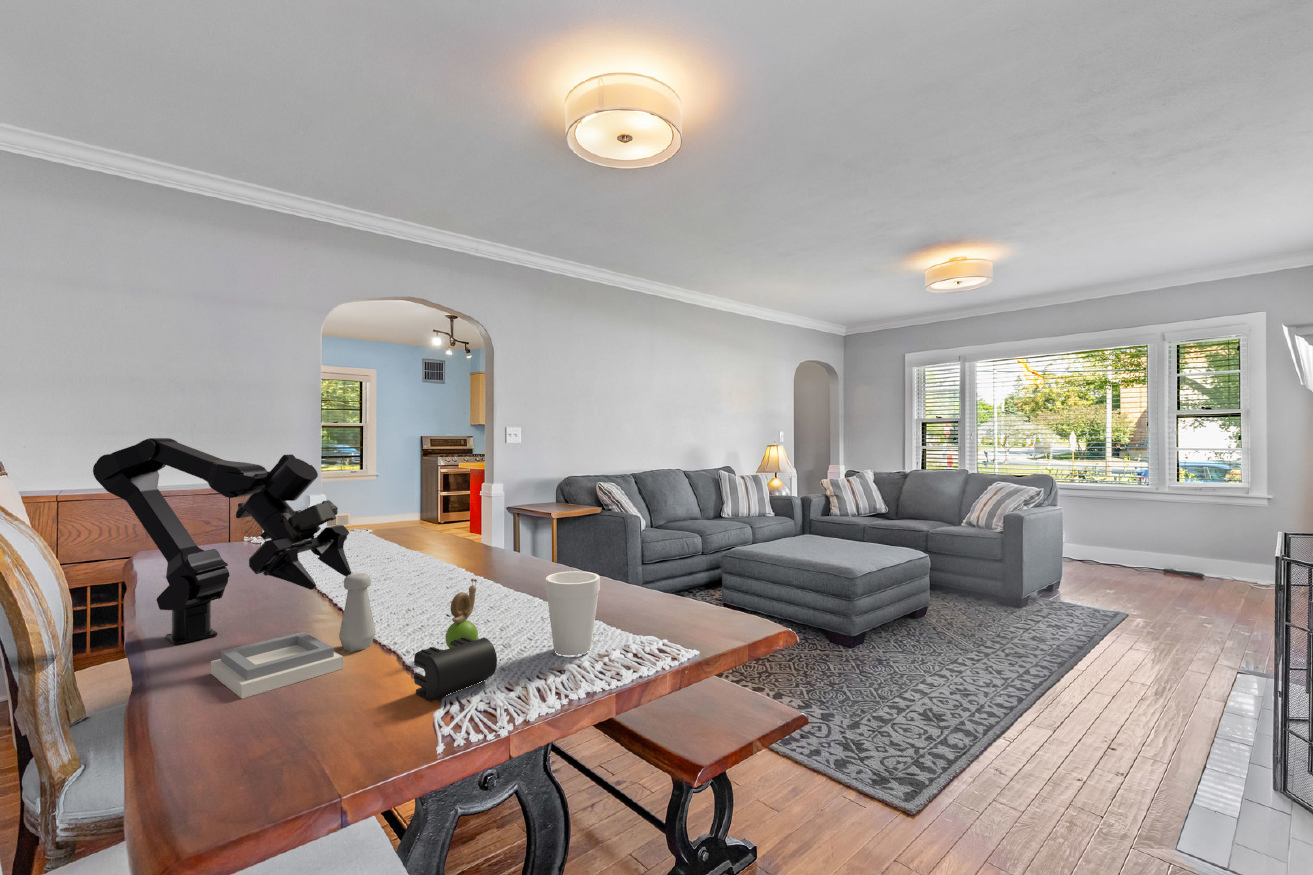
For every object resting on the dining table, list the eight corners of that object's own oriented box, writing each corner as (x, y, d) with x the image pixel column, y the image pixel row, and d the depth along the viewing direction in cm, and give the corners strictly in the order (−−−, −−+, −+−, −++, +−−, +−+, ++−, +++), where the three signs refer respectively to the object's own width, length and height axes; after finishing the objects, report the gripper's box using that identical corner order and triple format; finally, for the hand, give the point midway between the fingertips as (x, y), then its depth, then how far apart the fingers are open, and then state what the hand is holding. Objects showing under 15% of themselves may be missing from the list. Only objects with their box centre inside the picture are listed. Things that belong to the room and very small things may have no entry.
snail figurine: (487, 646, 106) (487, 579, 106) (464, 659, 100) (465, 588, 100) (462, 642, 108) (462, 577, 108) (438, 654, 102) (438, 585, 102)
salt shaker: (381, 642, 108) (382, 571, 108) (363, 653, 102) (363, 578, 102) (351, 640, 109) (351, 570, 109) (331, 652, 103) (331, 577, 103)
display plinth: (211, 673, 94) (211, 651, 94) (306, 648, 104) (307, 629, 104) (241, 698, 85) (241, 674, 85) (342, 668, 96) (342, 647, 96)
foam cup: (534, 651, 104) (535, 577, 104) (575, 637, 111) (575, 568, 111) (569, 665, 98) (570, 587, 98) (610, 650, 105) (610, 577, 104)
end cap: (438, 709, 82) (438, 660, 82) (411, 695, 86) (411, 649, 86) (497, 685, 90) (498, 641, 90) (470, 673, 94) (470, 631, 94)
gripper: (263, 492, 98) (324, 561, 96) (340, 483, 116) (392, 541, 114) (222, 539, 99) (281, 607, 97) (304, 522, 117) (355, 580, 116)
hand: (332, 581), depth 106 cm, fingers open, 9 cm apart
